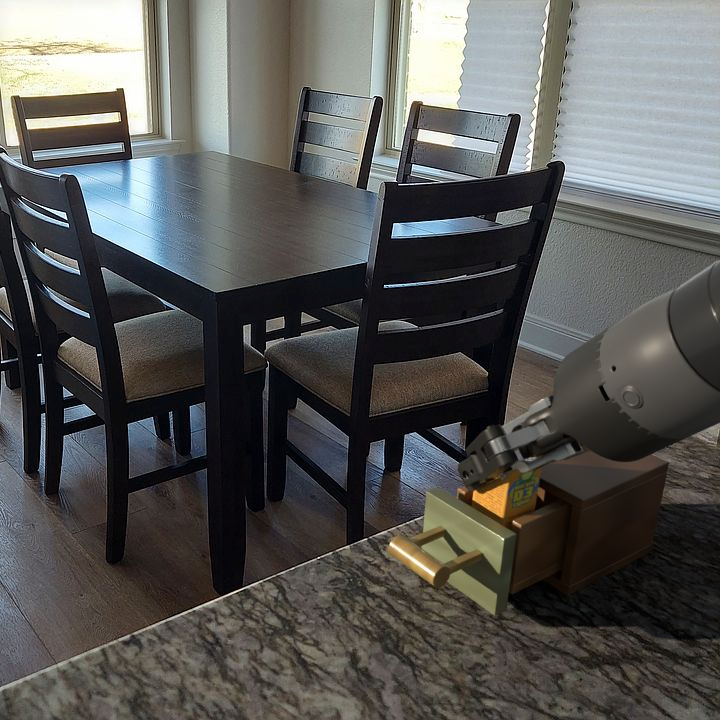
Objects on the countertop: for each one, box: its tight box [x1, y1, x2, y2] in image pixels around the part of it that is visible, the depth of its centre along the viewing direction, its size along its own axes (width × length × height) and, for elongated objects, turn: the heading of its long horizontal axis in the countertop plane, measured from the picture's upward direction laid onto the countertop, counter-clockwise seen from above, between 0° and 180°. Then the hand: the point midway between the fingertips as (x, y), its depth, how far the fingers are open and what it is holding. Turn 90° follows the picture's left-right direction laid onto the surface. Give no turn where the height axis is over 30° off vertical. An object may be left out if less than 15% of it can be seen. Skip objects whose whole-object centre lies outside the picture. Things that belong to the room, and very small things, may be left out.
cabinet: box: [539, 451, 670, 596], centre depth 67 cm, size 10×9×8 cm
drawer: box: [387, 485, 573, 617], centre depth 62 cm, size 14×7×6 cm, turn 122°
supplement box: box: [472, 455, 543, 530], centre depth 61 cm, size 3×3×10 cm
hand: (486, 471), depth 63 cm, fingers closed on supplement box, 3 cm apart
